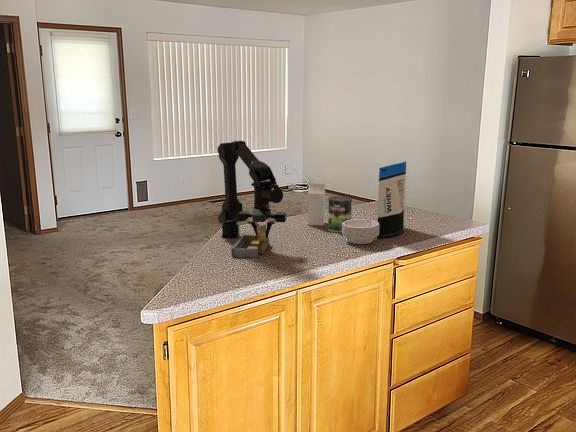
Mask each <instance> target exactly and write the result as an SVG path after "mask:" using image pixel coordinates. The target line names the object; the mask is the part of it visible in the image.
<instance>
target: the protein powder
mask: <svg viewBox="0 0 576 432" xmlns="http://www.w3.org/2000/svg"><path fill="white" fill-rule="evenodd" d="M378 169H379V170H378V171H379V172H378V193H377V194H378V198H377V199H378V200H377V201H378V202H377V222H378V223H379V235H378V236H377V237H376V240H382V239H383V240H384V239H392V238H397V237H399V236H402V235H403V234H404V232H405V219H404V217H405V216H404V215H405V212H404V211H405V195H406V177H407V176H406V175H407V174H406V173H407V161H403V162H399V163H395V164H390V165H386V166H383V167H379V168H378Z"/></svg>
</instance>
